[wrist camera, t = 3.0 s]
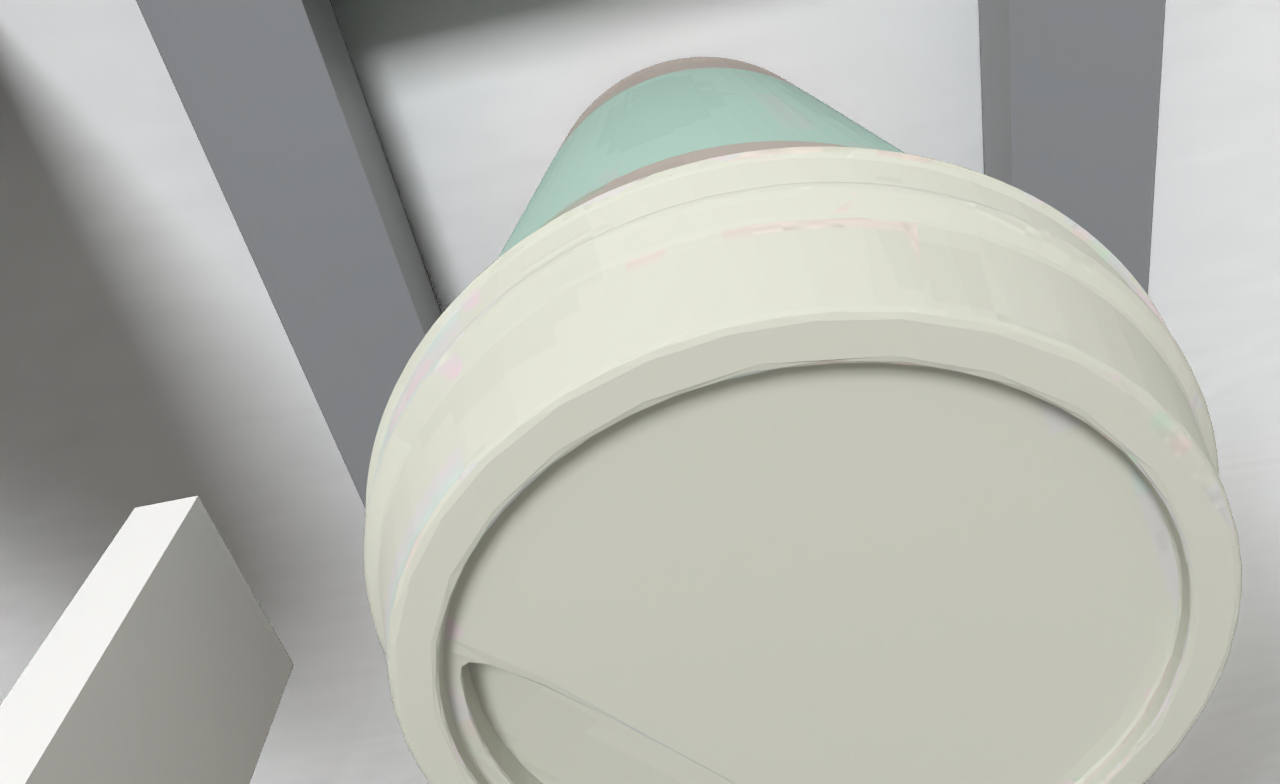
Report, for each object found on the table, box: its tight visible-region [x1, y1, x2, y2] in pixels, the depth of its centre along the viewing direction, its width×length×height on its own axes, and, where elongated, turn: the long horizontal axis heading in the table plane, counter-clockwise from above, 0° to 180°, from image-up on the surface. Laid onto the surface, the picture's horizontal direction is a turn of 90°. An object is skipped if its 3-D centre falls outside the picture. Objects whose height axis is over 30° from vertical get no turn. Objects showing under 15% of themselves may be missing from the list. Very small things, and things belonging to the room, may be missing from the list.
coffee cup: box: [364, 57, 1242, 784], centre depth 14 cm, size 9×8×12 cm
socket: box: [136, 0, 1166, 509], centre depth 18 cm, size 16×16×2 cm
